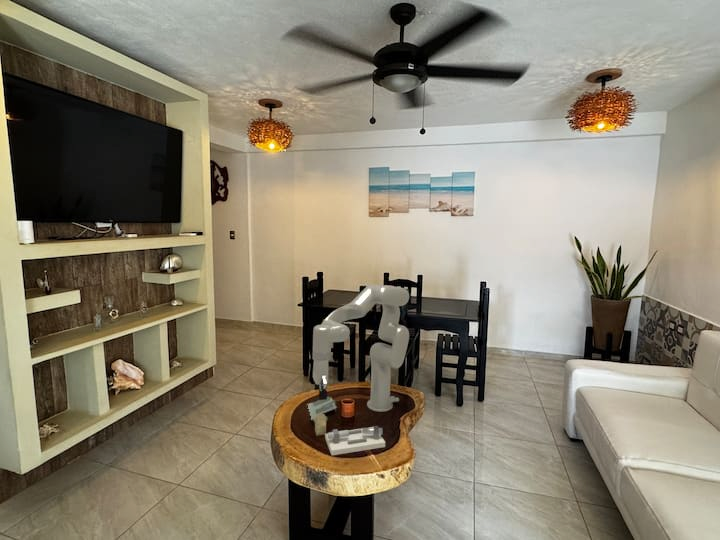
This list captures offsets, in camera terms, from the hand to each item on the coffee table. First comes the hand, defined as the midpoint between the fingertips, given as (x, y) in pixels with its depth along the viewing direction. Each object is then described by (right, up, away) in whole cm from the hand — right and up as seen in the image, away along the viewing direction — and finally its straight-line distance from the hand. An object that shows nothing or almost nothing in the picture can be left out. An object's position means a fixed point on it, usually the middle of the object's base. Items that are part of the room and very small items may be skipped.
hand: (320, 394), depth 153 cm
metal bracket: (-2, -16, +21) cm, 26 cm away
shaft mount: (+14, -18, -5) cm, 24 cm away
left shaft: (+22, -16, -4) cm, 27 cm away
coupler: (0, -17, +2) cm, 17 cm away
